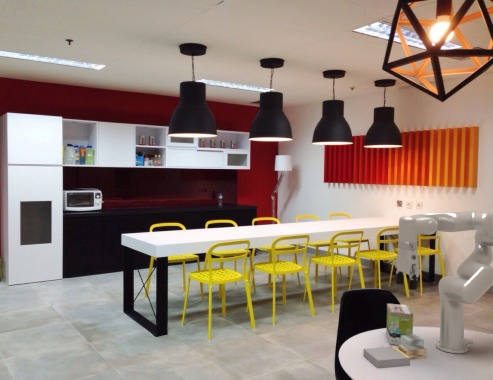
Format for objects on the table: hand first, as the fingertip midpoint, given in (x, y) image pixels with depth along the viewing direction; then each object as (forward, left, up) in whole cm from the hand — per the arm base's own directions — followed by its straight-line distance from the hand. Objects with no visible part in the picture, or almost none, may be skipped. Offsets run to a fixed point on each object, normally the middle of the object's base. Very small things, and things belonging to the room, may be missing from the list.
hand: (406, 286), depth 185 cm
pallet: (-2, +2, -29) cm, 29 cm away
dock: (+11, +4, -29) cm, 31 cm away
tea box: (-7, -16, -29) cm, 34 cm away
